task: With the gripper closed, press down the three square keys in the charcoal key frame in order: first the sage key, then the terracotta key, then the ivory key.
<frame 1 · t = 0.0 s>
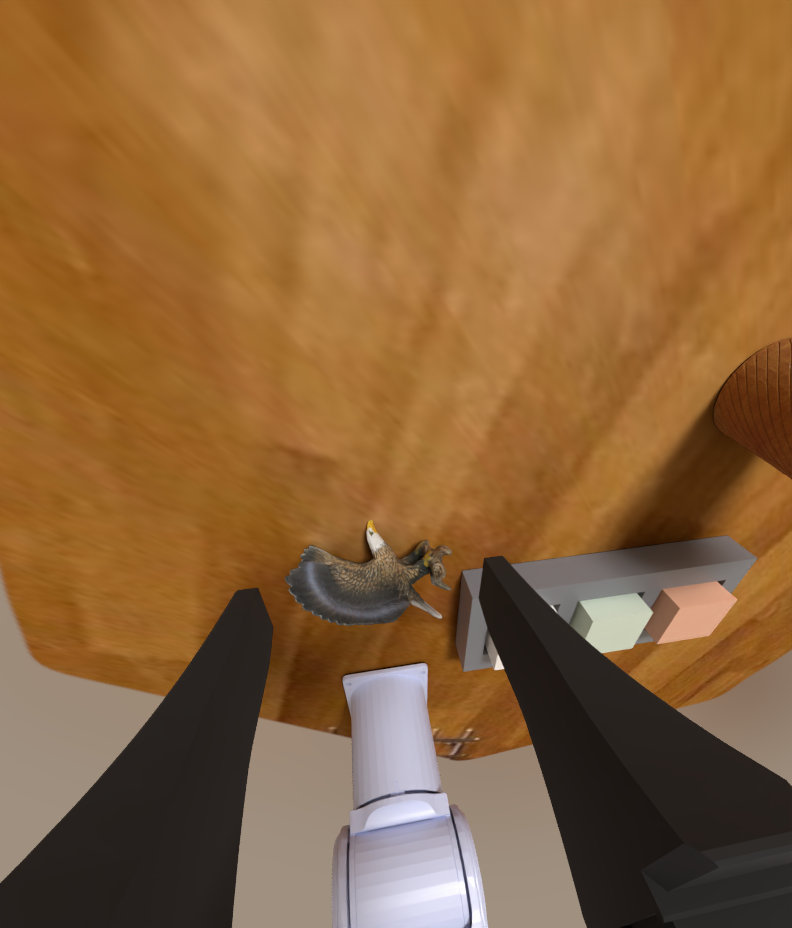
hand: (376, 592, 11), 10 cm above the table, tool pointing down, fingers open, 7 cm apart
eagle figurine: (369, 541, 24), on the table
sage key: (603, 620, 28), point 3 cm above the table, slide at 0.0 cm
key frame: (583, 592, 30), on the table
disposable coffee cup: (760, 388, 22), on the table
terracotta key: (682, 608, 29), point 3 cm above the table, slide at 0.0 cm
ivory key: (520, 633, 28), point 3 cm above the table, slide at 0.0 cm
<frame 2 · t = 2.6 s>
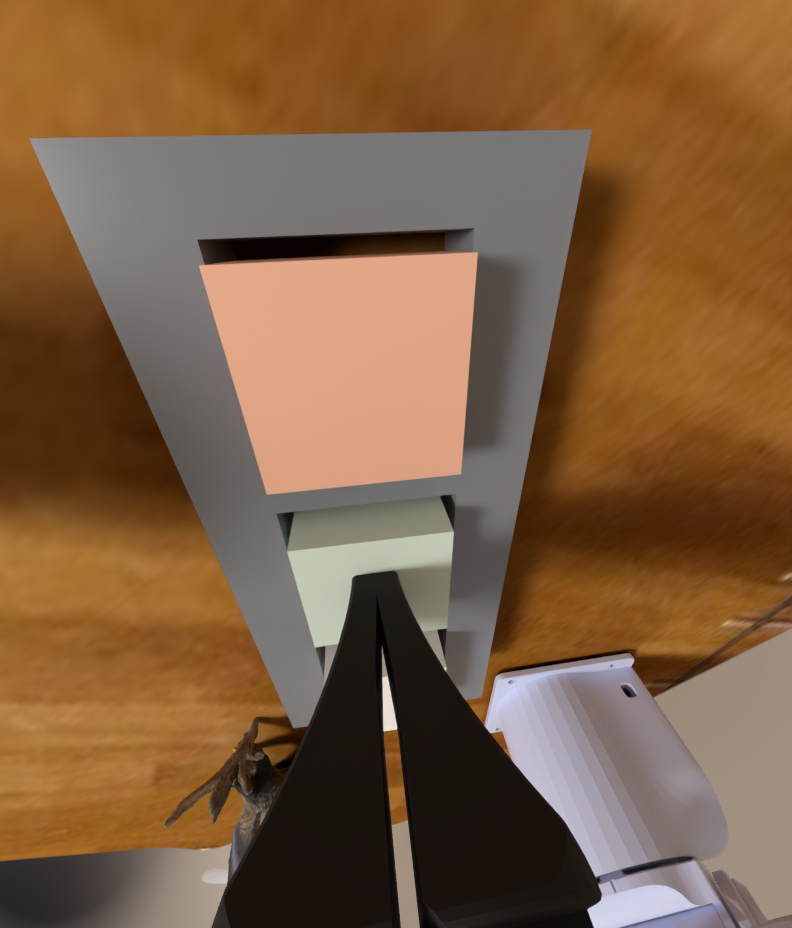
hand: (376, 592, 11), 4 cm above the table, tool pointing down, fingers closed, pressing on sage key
eagle figurine: (267, 739, 24), on the table
sage key: (374, 564, 12), point 2 cm above the table, slide at 0.3 cm, touching gripper
key frame: (370, 518, 14), on the table
terracotta key: (355, 372, 8), point 3 cm above the table, slide at 0.0 cm
ivory key: (385, 674, 16), point 3 cm above the table, slide at 0.0 cm
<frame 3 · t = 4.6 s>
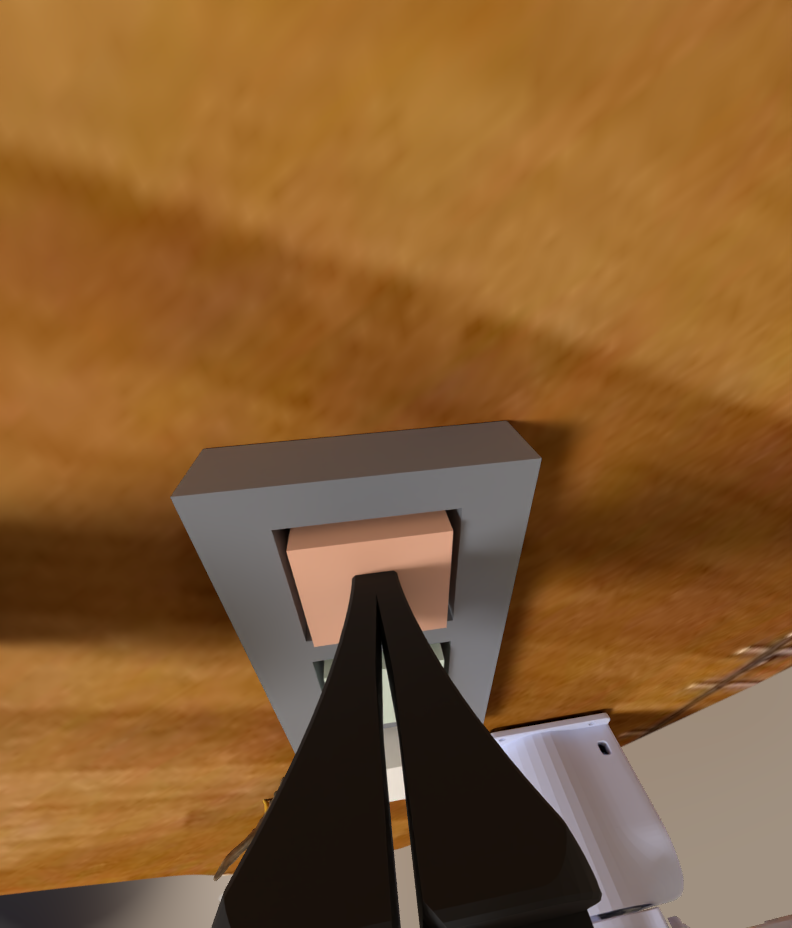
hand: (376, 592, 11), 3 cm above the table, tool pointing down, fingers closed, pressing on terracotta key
eagle figurine: (292, 791, 28), on the table
sage key: (384, 667, 16), point 2 cm above the table, slide at 1.0 cm
key frame: (381, 633, 18), on the table
terracotta key: (374, 563, 12), point 2 cm above the table, slide at 1.0 cm, touching gripper
ivory key: (393, 754, 19), point 3 cm above the table, slide at 0.0 cm
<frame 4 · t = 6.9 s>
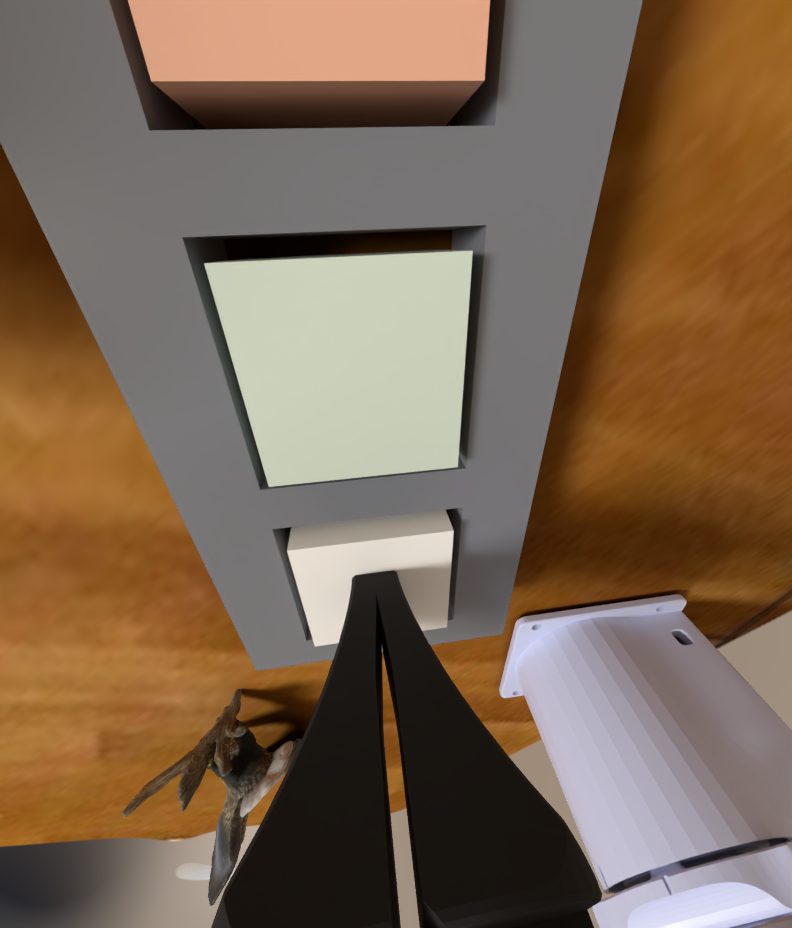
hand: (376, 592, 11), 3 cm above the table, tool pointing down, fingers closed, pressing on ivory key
eagle figurine: (256, 717, 21), on the table
sage key: (354, 367, 9), point 2 cm above the table, slide at 1.0 cm
key frame: (352, 350, 10), on the table
ivory key: (374, 563, 12), point 2 cm above the table, slide at 1.0 cm, touching gripper
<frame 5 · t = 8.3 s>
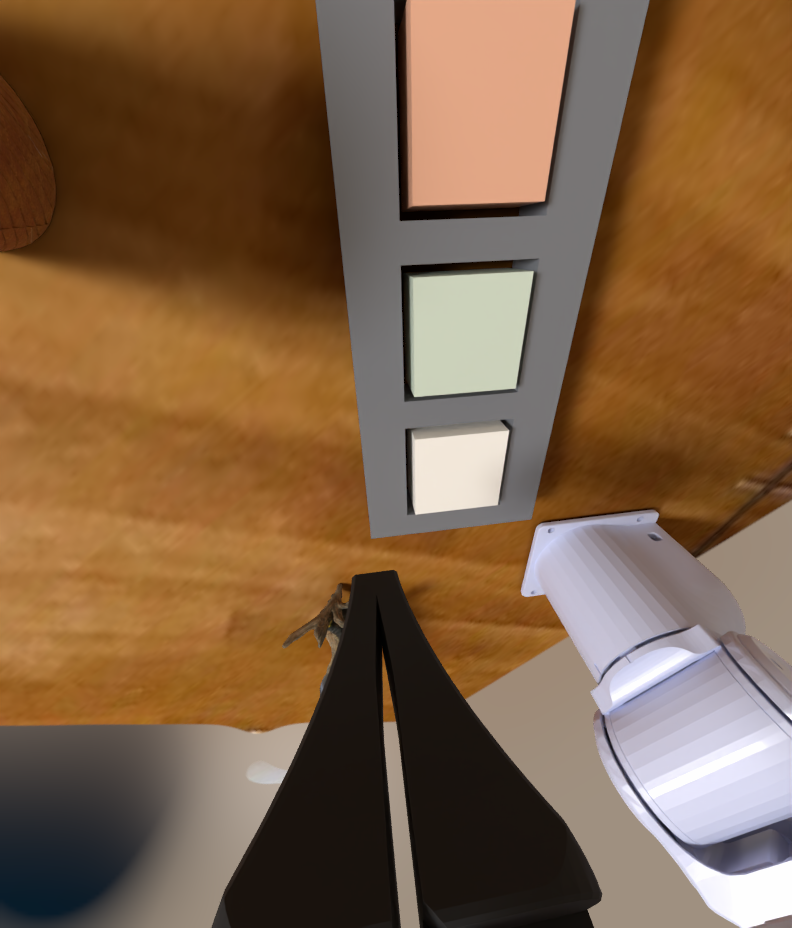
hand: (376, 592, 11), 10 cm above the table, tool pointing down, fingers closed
eagle figurine: (344, 613, 29), on the table
sage key: (460, 332, 16), point 2 cm above the table, slide at 1.0 cm
key frame: (451, 325, 17), on the table
terracotta key: (473, 120, 12), point 2 cm above the table, slide at 1.0 cm
ivory key: (453, 462, 20), point 2 cm above the table, slide at 1.0 cm
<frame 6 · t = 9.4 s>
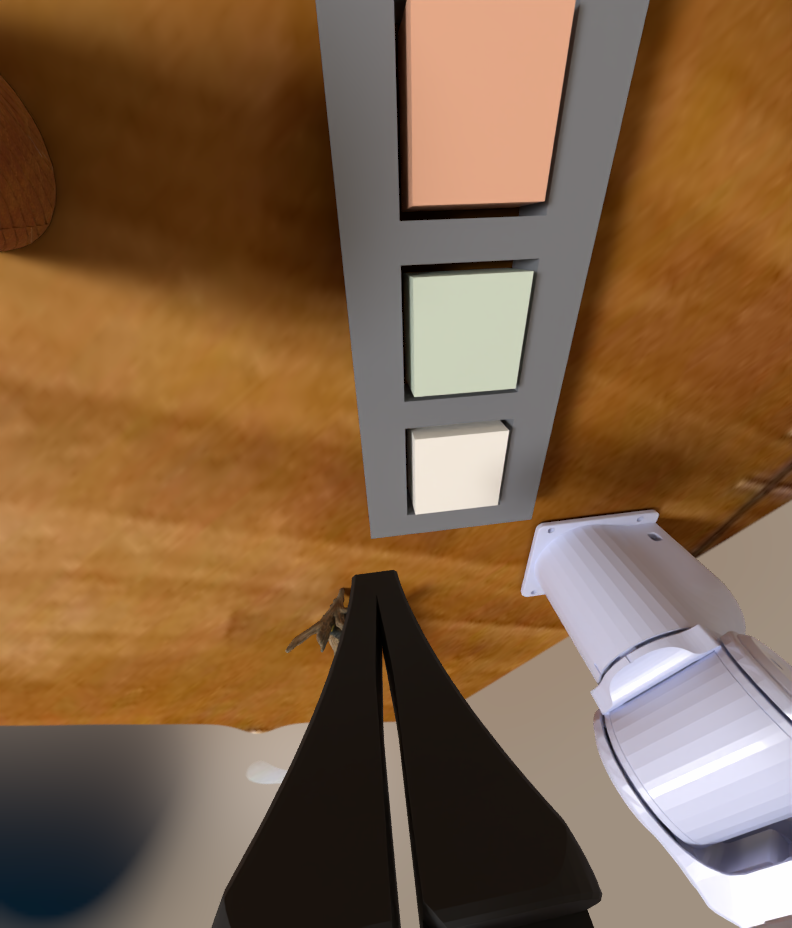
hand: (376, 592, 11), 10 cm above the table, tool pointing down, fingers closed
eagle figurine: (346, 617, 29), on the table
sage key: (460, 332, 16), point 2 cm above the table, slide at 1.0 cm
key frame: (451, 325, 17), on the table
terracotta key: (473, 120, 12), point 2 cm above the table, slide at 1.0 cm
ivory key: (453, 462, 20), point 2 cm above the table, slide at 1.0 cm
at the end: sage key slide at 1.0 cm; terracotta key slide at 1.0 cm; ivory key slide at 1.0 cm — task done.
